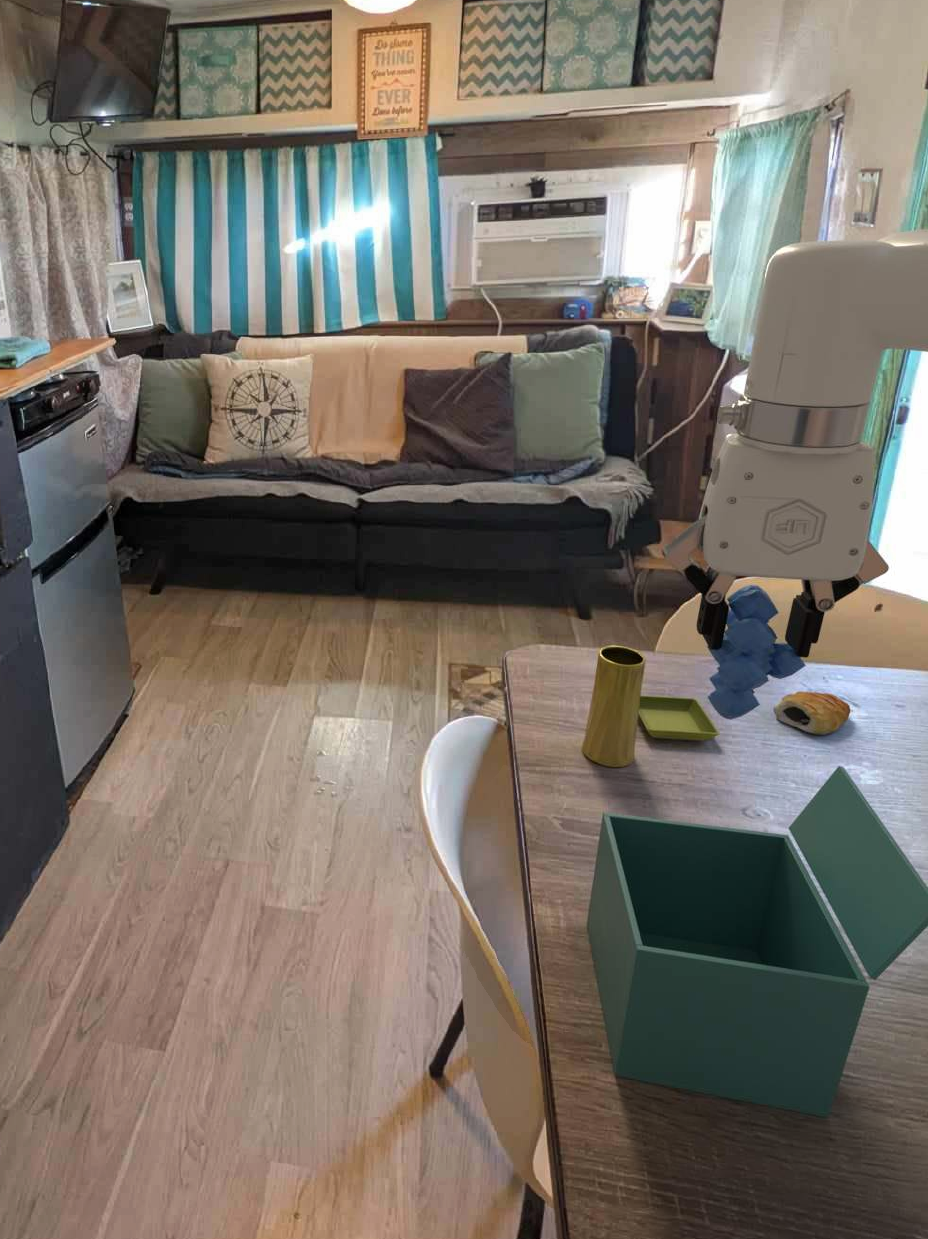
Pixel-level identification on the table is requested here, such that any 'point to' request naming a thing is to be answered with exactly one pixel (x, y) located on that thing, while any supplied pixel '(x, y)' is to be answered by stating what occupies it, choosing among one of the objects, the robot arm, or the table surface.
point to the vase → (614, 707)
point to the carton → (720, 964)
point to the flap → (862, 873)
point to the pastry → (813, 712)
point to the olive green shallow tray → (676, 718)
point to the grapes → (749, 653)
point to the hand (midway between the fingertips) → (753, 643)
